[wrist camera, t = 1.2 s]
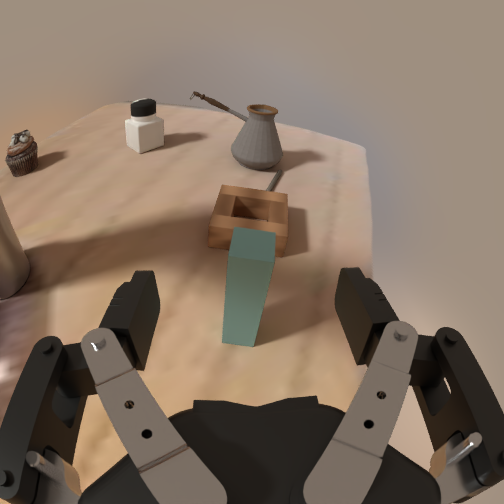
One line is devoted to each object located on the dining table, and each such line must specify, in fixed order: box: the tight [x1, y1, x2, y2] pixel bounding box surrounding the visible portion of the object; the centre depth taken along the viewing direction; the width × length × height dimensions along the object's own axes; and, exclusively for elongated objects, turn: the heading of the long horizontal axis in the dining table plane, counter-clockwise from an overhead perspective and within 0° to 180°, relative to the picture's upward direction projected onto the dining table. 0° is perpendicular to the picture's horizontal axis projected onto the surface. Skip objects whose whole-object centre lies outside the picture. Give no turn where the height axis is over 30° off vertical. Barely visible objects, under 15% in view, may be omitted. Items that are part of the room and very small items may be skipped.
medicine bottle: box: [125, 99, 164, 154], centre depth 62 cm, size 7×7×12 cm
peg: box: [222, 227, 276, 347], centre depth 29 cm, size 4×4×14 cm
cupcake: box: [5, 130, 38, 177], centre depth 53 cm, size 10×10×10 cm
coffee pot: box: [190, 92, 283, 170], centre depth 60 cm, size 21×12×15 cm, turn 81°
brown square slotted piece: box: [208, 185, 288, 257], centre depth 46 cm, size 11×11×4 cm
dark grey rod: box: [266, 170, 282, 191], centre depth 57 cm, size 15×1×1 cm, turn 161°
